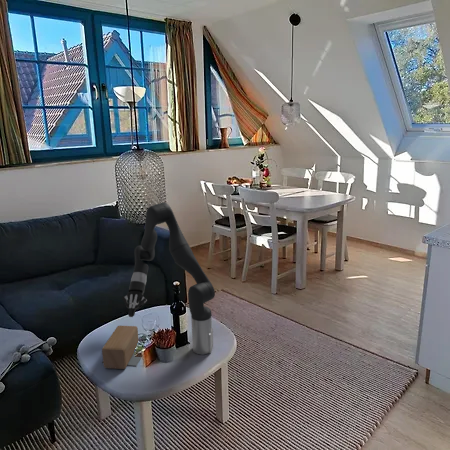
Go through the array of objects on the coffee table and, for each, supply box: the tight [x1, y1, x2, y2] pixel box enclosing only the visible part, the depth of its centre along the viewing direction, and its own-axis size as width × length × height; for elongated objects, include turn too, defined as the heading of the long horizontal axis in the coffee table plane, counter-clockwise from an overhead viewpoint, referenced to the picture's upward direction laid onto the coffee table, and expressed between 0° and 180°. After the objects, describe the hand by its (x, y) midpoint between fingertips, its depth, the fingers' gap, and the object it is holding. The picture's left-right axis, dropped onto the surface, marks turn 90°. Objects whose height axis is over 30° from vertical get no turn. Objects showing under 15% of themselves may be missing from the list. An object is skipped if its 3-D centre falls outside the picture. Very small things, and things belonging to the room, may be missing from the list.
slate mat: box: [101, 354, 142, 367], centre depth 183 cm, size 16×14×1 cm
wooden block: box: [101, 325, 140, 370], centre depth 180 cm, size 10×10×20 cm
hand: (130, 316), depth 193 cm, fingers closed
